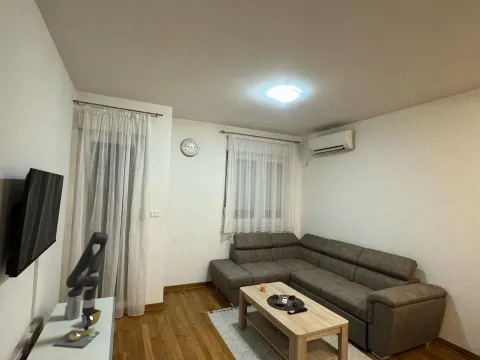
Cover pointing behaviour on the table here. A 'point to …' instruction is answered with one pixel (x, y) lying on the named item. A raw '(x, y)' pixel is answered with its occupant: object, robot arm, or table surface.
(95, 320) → the flower pot
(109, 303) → the table surface
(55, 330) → the table surface
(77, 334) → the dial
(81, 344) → the board
